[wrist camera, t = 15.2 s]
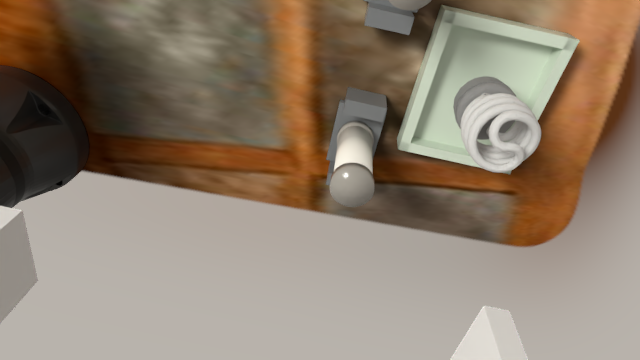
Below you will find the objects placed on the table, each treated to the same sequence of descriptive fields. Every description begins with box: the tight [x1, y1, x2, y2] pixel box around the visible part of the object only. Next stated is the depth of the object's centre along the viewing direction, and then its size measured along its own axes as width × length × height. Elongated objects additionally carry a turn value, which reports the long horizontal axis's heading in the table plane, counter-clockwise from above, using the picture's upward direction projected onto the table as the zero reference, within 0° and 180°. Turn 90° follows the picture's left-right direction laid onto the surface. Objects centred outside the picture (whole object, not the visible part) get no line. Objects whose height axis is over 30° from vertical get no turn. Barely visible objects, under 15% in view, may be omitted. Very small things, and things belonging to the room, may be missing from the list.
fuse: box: [330, 121, 374, 207], centre depth 41 cm, size 4×4×10 cm
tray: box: [397, 5, 580, 174], centre depth 41 cm, size 12×14×2 cm
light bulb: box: [453, 76, 541, 173], centre depth 36 cm, size 6×6×12 cm
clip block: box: [326, 0, 418, 185], centre depth 40 cm, size 5×27×4 cm, turn 169°
